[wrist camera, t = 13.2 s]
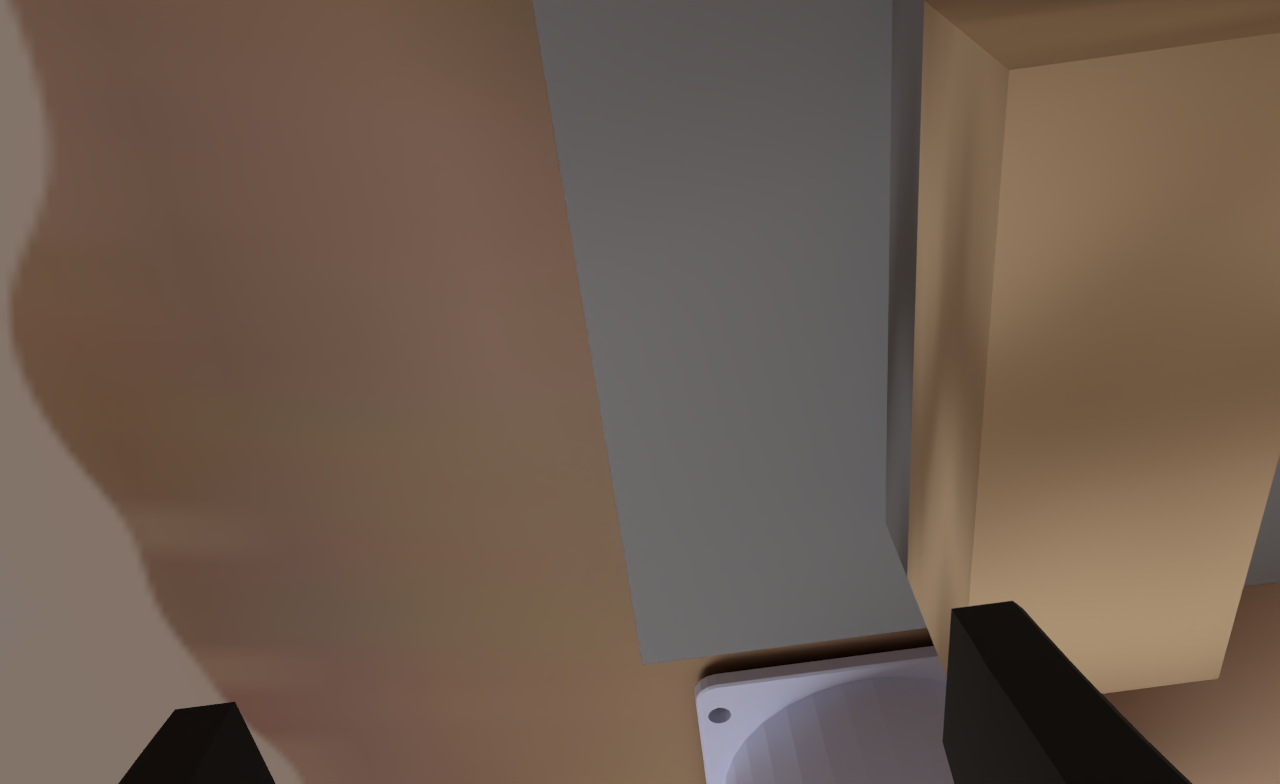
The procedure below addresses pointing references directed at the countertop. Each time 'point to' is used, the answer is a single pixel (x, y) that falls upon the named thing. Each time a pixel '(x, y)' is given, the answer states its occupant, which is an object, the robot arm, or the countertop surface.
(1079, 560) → the block
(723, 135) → the board
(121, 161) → the countertop surface
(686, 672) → the countertop surface
